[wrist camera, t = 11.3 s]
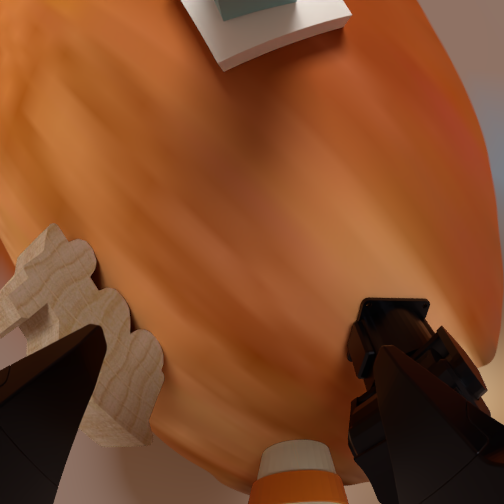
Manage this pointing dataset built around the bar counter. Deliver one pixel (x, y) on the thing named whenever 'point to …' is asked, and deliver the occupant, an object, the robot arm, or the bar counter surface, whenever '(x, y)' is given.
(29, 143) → the bar counter surface
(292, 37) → the base brick
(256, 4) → the teal column
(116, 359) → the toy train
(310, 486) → the reusable coffee cup
